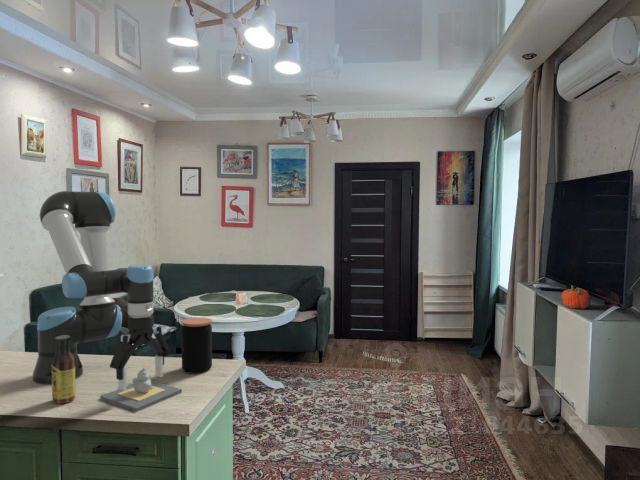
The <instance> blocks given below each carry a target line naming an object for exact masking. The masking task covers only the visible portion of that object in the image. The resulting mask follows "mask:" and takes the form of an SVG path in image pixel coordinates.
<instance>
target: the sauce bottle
mask: <svg viewBox="0 0 640 480" xmlns="http://www.w3.org/2000/svg"><path fill="white" fill-rule="evenodd" d="M55 343H56V352H55V355H54V358H53V361H52V363H51V368H52V384H51V396H52V397H51V398H52V401H53V403H55V404H56V405H58V404H61V405H63V404H67V403H71V402H73V401H74V400H75V398H76V394H77V393H76V390H77V389H76V378H75V362H74V361H75V359H74V356H73V354H72V353H71V351H70V336H69V335H62V336H58V337H56V338H55Z"/></svg>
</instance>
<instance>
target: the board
mask: <svg viewBox="0 0 640 480" xmlns="http://www.w3.org/2000/svg"><path fill="white" fill-rule="evenodd" d="M150 381H151V389H150V390H149V391H147V392H144V393H140V392H137V391H135V390H134V384H133V383H132V384H129V385H127V390H125V391H124V390H121V389H119V388H117V389H116V390H113V391H109V392H107V393H105V394H102V395H100V396H99V399H100V400H101V401H104V402H107V403H110V404H112V405H116V406H119V407H122V408H125V409H127V410H131V411H133V412H136V413H137V412H140V411H143V410H145V409H147V408H149V407H151V406H154V405H156V404H158V403H160V402H163V401H165V400H167V399H169V398H173V397H174V396H177V395H179V394H181V393H182V391H183V389H182V388H178V387H175V386H171V385H170V384H169V385H167V384H164V383H161V382H158V381H154V380H151V379H150Z"/></svg>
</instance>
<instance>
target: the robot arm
mask: <svg viewBox="0 0 640 480" xmlns="http://www.w3.org/2000/svg"><path fill="white" fill-rule="evenodd" d="M39 219H40V223H41V226H42V228H43V229H44V230H45V231H46V232H47V231H48V234H49V236H50V239H51V241H52V243H53V245H54V248H55V251H56V253H57V256H58V258H59V260H60V263H61V265H62V267H63V270H64V272H65V274H64V275H63V277H62V278H61V288H62V294H63V295H64V297H66V298H67V299H82V298H84V299H83V300H82V301H81V302H80V303H79V309H78V310H77V308H76V307H75V306H62V307H56V308H52V309H49V310H46V311H44V312H42V313H40V314H39V316H38V318H37V326H36V329H37V351H38V352H37V353H38V357H37V360H36V363H35V366H34V368H33V372H32V381H33V382H34V383H36V384H43V385H45V384H47V385H49V384H51V385H52V368H51V363H52V361H53V358H54V355H55V352H56V343H55V338H56V337H58V336H62V335H69V336H70V351H71V353H72V354H73V356H74V359H75V361H74V362H75V379H77V378H79V377H81V376H82V375H83V373H84V370H83V369H84V368H83V364H82V361H81V359H80V356H79V354H78V348H77V347H78V346H77V345H78V344H82V343H88V342H92V341H97V340H106V339H108V338H113V337H115V336H117V335H118V334H119V333H120V330H121V328H122V324H123V312H122V309H121V307H120V305H118V304H116V302H115V300H114V298H112V297H111V295H115V294H122V293H123V294H127V295H126V296H127V301H126V302H127V309H126V310H127V314H126V315H128V317H127V328H128V334H120V335H119V336H118V337H119V338H118V343H117V346H116V347H115V350H114V354H113V355H112V359H111V361H110V364H109V367H110V369H114V370H115V371H116V373H115V374H116V380H118V389H121V390H124V391H125V390H127V386H128V385H127V368H125V366H126V365H127V364H128V361H129V360H130V358H131V356H132V355H133V353H134V351H135V350H137V348H138V347H141V346H143V345H149V346H150V348H151V349H152V350H153V351H154V352H155V353H156V355H155V356H154V361H155V363H154V365H155V366H154V367H155V368H154V371H155V372H154V373H155V376H157V377H160V378H162V377H163V376H164V365H165V357H166V356H167V355H168V353H169V352H170V348H169V345H168V344H167V342H166V339H165V337H164V335H163V333H162V332H163V331H162V327H161V326H159V325H158V326H157V325H155V320H154V315H153V314H154V278H155V277H154V272H153V270H154V269H153V266H152V265H148V264H134V265H133V264H132V265H129V266H128V267H118V268H115V269H110V270H109V258H108V247H107V246H108V243H107V232H108V231H109V230H110V229H111V224H113V223H114V222H115V219H116V208H115V204H114V201H113V199H112V198H111V196H110V195H109V194H108V193H105V192H99V191H98V192H97V191H72V190H71V191H69V190H64V191H58V192H55V193H54V194H53V193H52V194H51V195H50V196H49V197H48V198H46V199H45V201H44V202H43V203H42V205H41V207H40V210H39ZM78 234H79V235H78ZM79 236H80V237H79ZM153 335H154V337H155V338H153ZM156 341H157V342H156Z"/></svg>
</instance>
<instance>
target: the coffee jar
mask: <svg viewBox="0 0 640 480" xmlns="http://www.w3.org/2000/svg"><path fill="white" fill-rule="evenodd" d="M211 324H212V319H211V318H209V317H190V318H186V319H182V320H181V325H182V328H181V367H182V370H183V371H184V372H185V373H187V374H201V373H203V374H204V373H206V372H208V371H210V369H211V368H212V366H213V326H212V325H211Z"/></svg>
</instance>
